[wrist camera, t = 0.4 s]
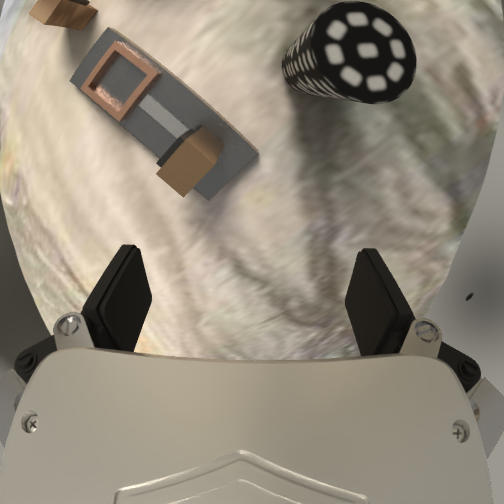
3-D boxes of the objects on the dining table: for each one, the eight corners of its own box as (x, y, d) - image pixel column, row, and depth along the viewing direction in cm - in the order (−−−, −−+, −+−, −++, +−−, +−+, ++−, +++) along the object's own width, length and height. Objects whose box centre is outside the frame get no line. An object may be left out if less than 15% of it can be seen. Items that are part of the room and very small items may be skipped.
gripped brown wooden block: (82, 30, 25) (43, 24, 17) (66, 19, 23) (28, 13, 15) (101, 6, 23) (65, -6, 15) (84, -4, 21) (48, -15, 13)
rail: (114, 28, 26) (69, 17, 16) (258, 150, 38) (260, 175, 28) (76, 80, 30) (27, 86, 20) (210, 195, 42) (196, 234, 31)
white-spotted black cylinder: (291, 100, 34) (329, 112, 17) (273, 47, 29) (294, 6, 12) (347, 89, 32) (425, 99, 15) (331, 37, 28) (399, 1, 11)
